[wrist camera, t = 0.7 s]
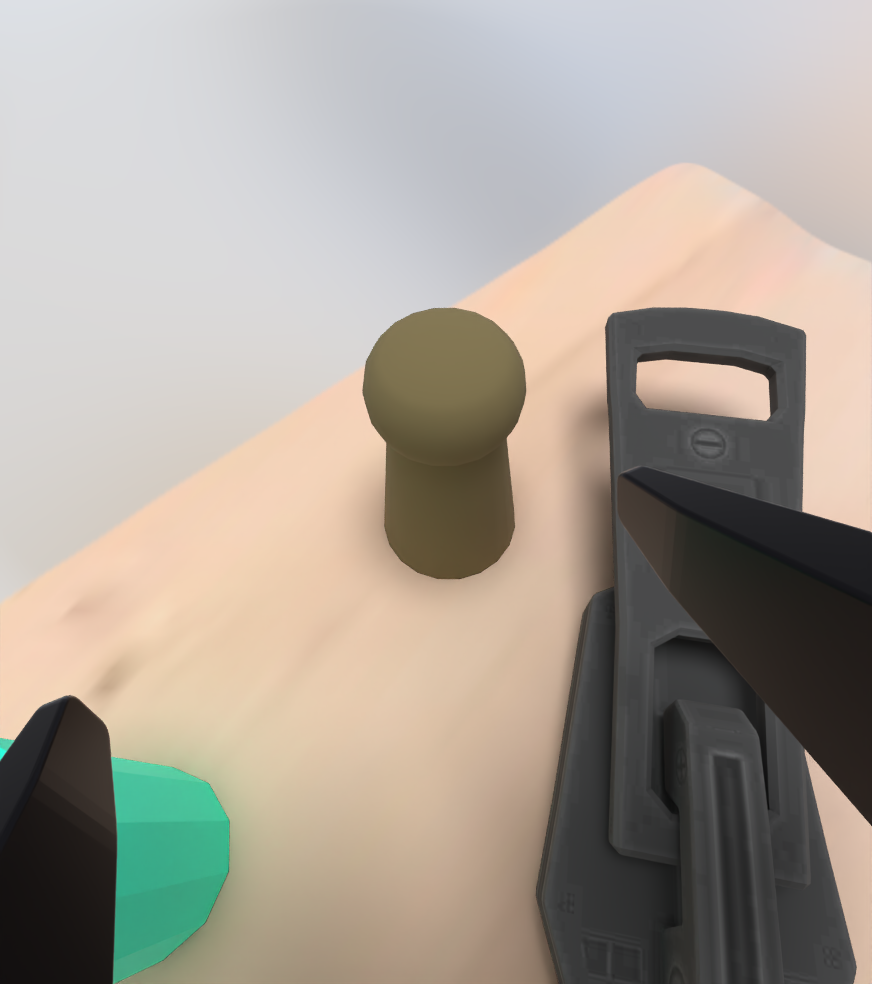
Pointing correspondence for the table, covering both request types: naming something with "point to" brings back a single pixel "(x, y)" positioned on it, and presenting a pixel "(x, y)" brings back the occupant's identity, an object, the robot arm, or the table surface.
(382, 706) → the table surface
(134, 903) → the candle
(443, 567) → the cork
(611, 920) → the zipper pull
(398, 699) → the table surface
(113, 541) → the table surface
